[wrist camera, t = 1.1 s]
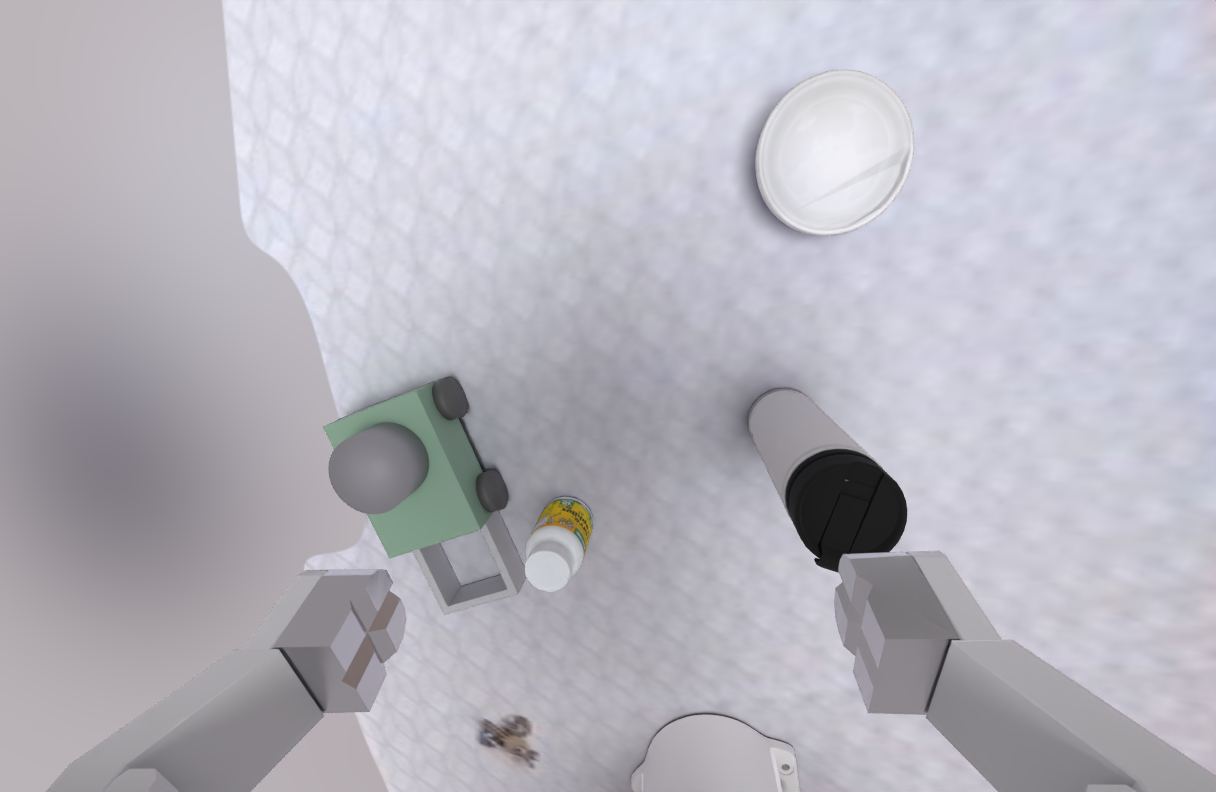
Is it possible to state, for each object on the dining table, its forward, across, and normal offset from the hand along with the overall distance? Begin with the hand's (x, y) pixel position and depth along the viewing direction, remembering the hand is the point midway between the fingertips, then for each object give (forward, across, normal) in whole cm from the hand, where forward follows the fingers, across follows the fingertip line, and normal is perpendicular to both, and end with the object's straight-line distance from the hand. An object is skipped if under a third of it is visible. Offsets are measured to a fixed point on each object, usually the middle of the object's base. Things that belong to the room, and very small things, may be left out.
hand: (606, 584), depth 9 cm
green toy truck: (+34, -22, -26) cm, 48 cm away
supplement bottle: (+33, -10, -29) cm, 45 cm away
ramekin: (+42, +15, +1) cm, 44 cm away
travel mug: (+35, +12, -20) cm, 42 cm away
